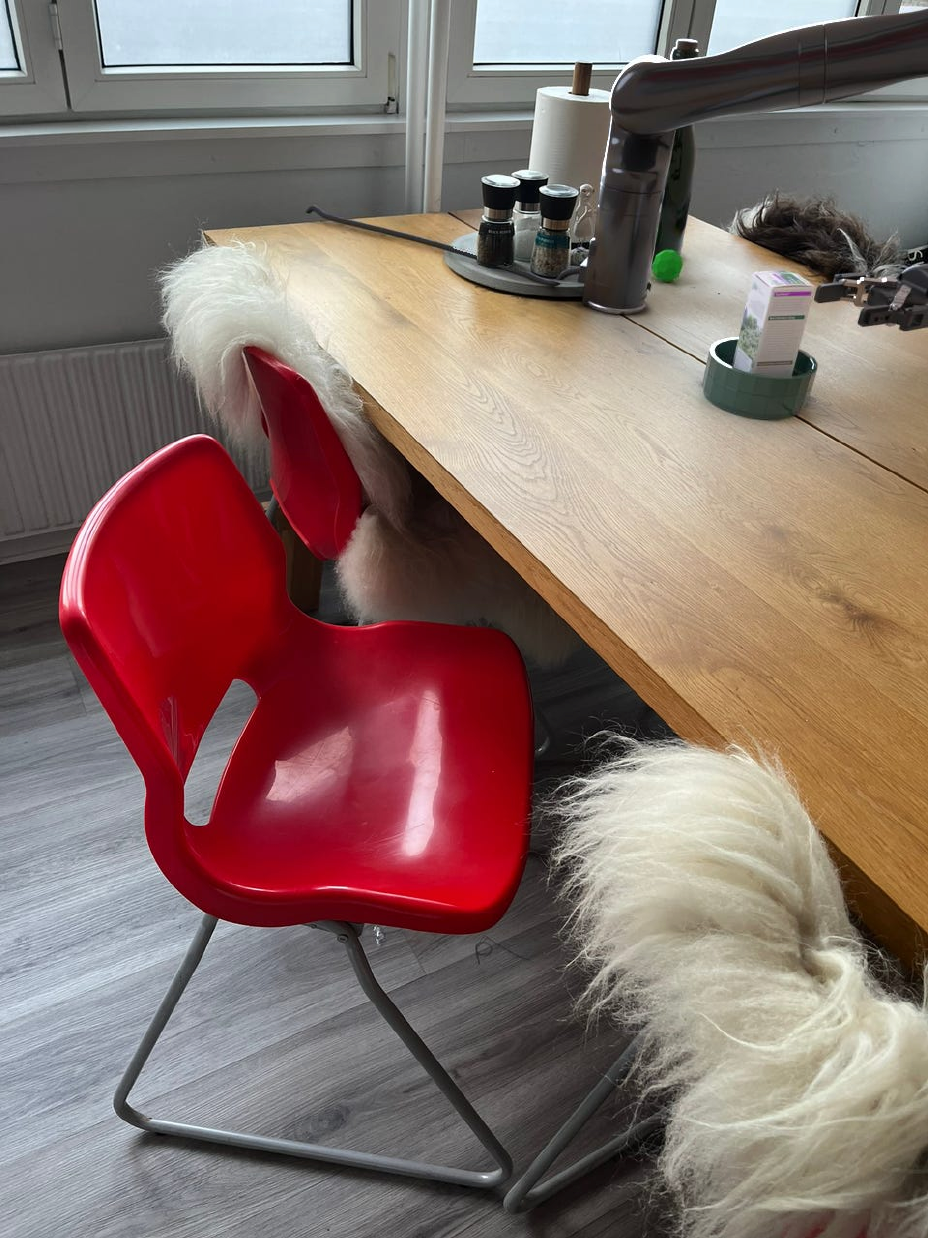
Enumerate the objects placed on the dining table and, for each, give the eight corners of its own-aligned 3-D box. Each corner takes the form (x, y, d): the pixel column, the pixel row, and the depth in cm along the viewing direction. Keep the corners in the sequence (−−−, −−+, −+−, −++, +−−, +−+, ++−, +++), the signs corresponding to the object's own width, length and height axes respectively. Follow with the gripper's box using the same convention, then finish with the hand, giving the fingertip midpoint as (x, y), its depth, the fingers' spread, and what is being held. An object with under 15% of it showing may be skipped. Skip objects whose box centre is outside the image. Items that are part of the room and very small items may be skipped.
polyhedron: (684, 280, 158) (690, 250, 155) (673, 287, 155) (678, 257, 152) (656, 273, 160) (661, 244, 157) (645, 280, 157) (650, 251, 154)
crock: (693, 408, 117) (702, 365, 114) (708, 369, 128) (717, 330, 124) (801, 429, 114) (814, 386, 111) (808, 388, 124) (820, 348, 121)
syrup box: (786, 400, 119) (819, 285, 110) (743, 402, 118) (772, 285, 109) (767, 382, 123) (797, 269, 114) (725, 383, 122) (752, 269, 113)
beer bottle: (644, 265, 163) (681, 43, 143) (610, 247, 171) (641, 34, 151) (692, 259, 167) (735, 43, 147) (657, 242, 175) (693, 34, 155)
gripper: (910, 246, 125) (810, 257, 120) (992, 281, 115) (886, 294, 110) (892, 302, 130) (795, 315, 125) (970, 340, 120) (868, 356, 115)
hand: (838, 305), depth 118 cm, fingers open, 8 cm apart
